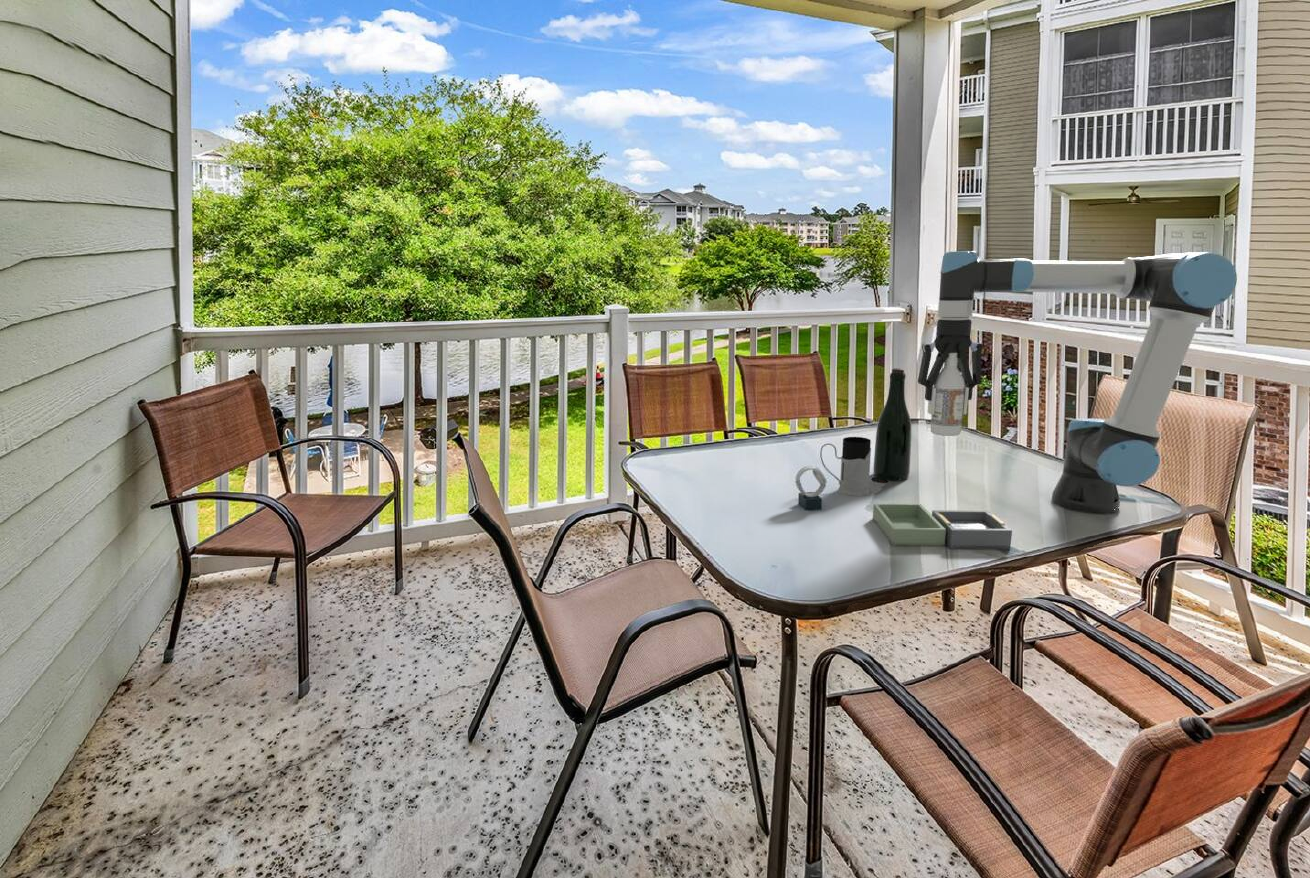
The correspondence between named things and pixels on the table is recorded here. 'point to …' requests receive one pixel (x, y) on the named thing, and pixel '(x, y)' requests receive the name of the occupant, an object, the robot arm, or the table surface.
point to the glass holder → (853, 466)
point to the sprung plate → (969, 525)
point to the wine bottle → (893, 433)
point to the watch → (811, 498)
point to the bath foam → (948, 399)
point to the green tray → (908, 525)
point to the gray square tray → (974, 530)
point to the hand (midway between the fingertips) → (946, 413)
